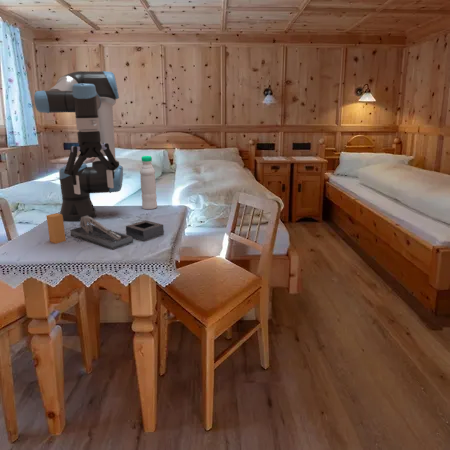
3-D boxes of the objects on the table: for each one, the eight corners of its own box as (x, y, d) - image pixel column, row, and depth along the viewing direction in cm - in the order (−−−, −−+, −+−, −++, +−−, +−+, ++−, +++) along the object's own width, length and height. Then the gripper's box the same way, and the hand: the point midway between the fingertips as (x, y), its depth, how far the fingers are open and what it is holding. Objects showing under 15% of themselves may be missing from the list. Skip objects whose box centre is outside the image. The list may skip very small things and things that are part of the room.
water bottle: (141, 206, 199) (137, 155, 192) (155, 205, 201) (152, 154, 194) (143, 210, 193) (140, 157, 186) (158, 208, 195) (155, 156, 188)
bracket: (86, 225, 160) (90, 204, 155) (118, 256, 150) (123, 235, 145) (79, 227, 157) (82, 205, 152) (111, 259, 148) (116, 237, 143)
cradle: (70, 235, 157) (70, 229, 156) (90, 229, 163) (90, 224, 163) (112, 249, 141) (112, 243, 141) (132, 242, 148) (132, 236, 147)
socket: (126, 236, 155) (125, 226, 154) (146, 229, 163) (145, 220, 162) (143, 241, 149) (143, 230, 148) (163, 234, 157) (163, 224, 156)
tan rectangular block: (50, 241, 150) (46, 215, 147) (60, 238, 153) (56, 213, 150) (55, 243, 148) (52, 217, 145) (65, 240, 151) (62, 214, 148)
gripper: (59, 133, 129) (67, 198, 136) (124, 129, 147) (129, 186, 154) (48, 132, 134) (56, 195, 140) (112, 128, 152) (117, 184, 158)
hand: (94, 190), depth 147 cm, fingers open, 13 cm apart
